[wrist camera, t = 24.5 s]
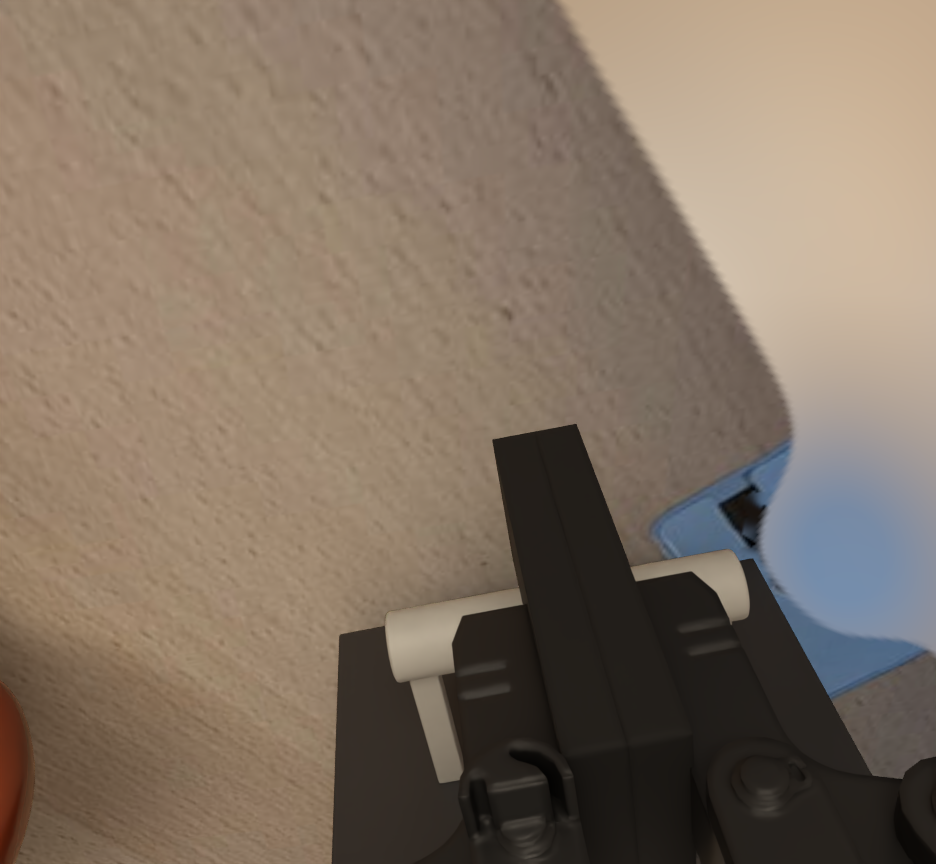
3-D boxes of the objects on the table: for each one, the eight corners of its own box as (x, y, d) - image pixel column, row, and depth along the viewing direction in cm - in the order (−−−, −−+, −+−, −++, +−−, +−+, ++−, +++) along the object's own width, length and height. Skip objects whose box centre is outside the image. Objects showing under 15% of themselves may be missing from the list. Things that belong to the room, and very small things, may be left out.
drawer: (290, 492, 21) (257, 774, 15) (758, 406, 21) (931, 650, 15) (428, 896, 31) (444, 1168, 25) (744, 838, 31) (843, 1096, 25)
